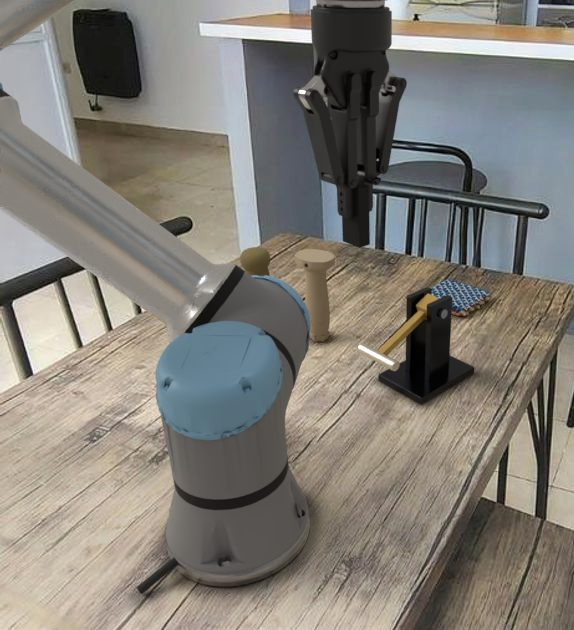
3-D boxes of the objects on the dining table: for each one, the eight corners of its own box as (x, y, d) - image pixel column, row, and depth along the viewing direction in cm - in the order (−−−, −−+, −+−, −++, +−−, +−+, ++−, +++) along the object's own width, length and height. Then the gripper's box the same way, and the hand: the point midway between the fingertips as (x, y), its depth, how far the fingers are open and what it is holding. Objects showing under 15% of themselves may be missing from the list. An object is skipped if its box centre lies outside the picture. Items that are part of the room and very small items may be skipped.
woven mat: (493, 299, 129) (494, 290, 128) (463, 320, 121) (464, 310, 120) (447, 285, 134) (448, 276, 133) (416, 304, 127) (416, 294, 126)
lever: (394, 375, 92) (390, 364, 91) (360, 356, 97) (355, 345, 95) (454, 315, 98) (451, 303, 97) (419, 299, 102) (415, 288, 101)
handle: (327, 349, 111) (323, 264, 104) (294, 340, 114) (288, 256, 107) (343, 336, 115) (340, 254, 108) (311, 327, 118) (306, 246, 111)
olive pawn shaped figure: (283, 303, 125) (279, 248, 120) (260, 316, 121) (254, 258, 116) (259, 295, 128) (254, 241, 123) (235, 307, 124) (229, 251, 119)
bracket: (421, 405, 98) (423, 320, 91) (378, 380, 103) (377, 299, 97) (474, 373, 106) (479, 293, 99) (431, 352, 111) (434, 275, 105)
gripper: (322, 7, 56) (332, 269, 67) (428, 4, 65) (422, 237, 76) (268, 2, 61) (286, 248, 72) (374, 0, 69) (376, 220, 80)
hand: (356, 242), depth 74 cm, fingers closed
